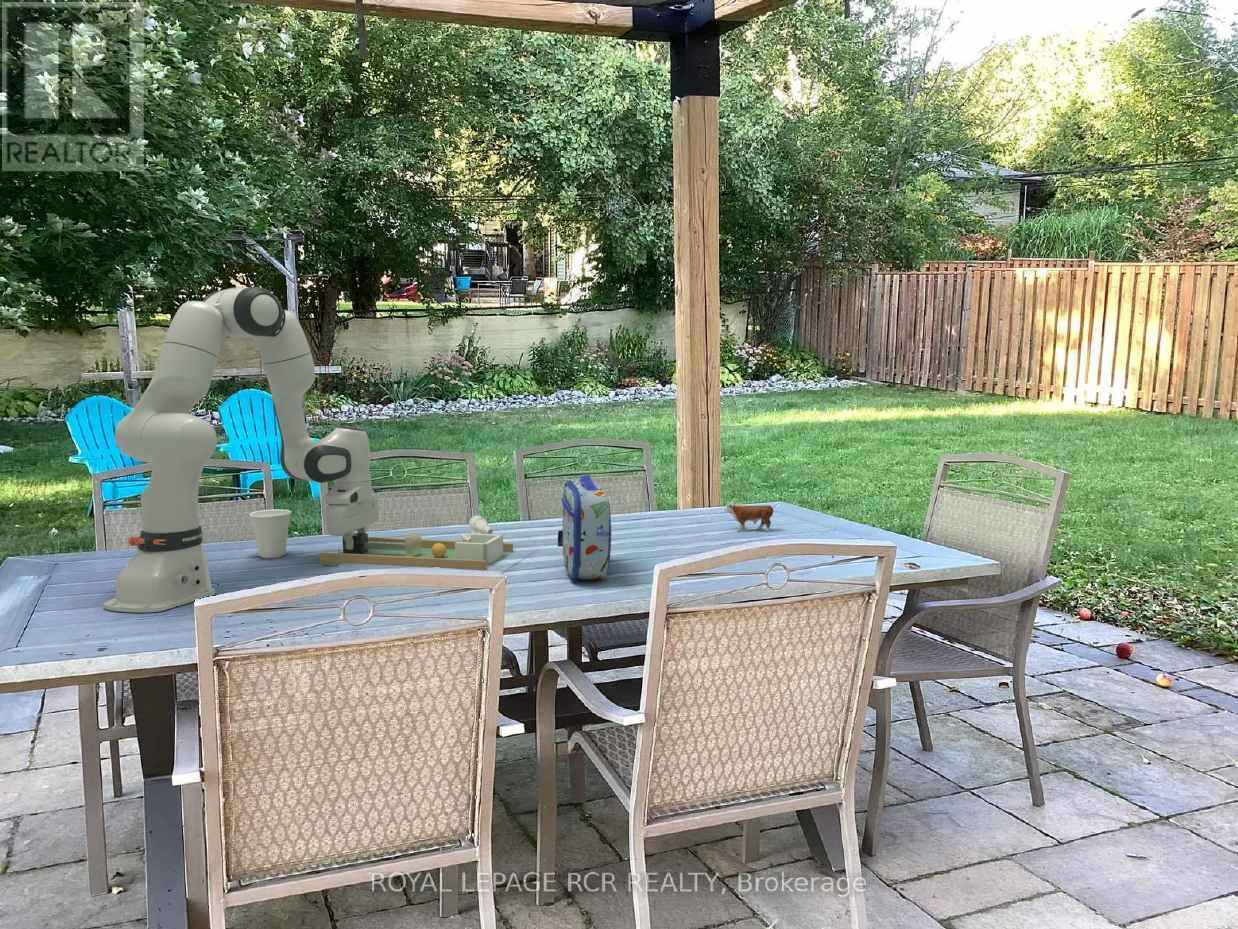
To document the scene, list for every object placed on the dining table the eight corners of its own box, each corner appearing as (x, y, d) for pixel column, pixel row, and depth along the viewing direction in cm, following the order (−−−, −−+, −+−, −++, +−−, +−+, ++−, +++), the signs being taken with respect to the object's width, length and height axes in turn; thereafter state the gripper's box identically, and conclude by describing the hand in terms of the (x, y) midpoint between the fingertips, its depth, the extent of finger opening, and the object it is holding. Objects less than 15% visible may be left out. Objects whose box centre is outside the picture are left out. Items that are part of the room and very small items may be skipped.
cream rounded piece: (483, 556, 258) (468, 543, 256) (469, 545, 271) (455, 533, 269) (503, 532, 260) (488, 519, 258) (489, 523, 272) (475, 511, 270)
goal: (487, 565, 236) (486, 544, 235) (455, 563, 237) (454, 542, 237) (503, 555, 246) (502, 535, 246) (472, 553, 248) (472, 533, 247)
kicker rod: (413, 557, 243) (412, 537, 243) (341, 554, 248) (340, 534, 247) (421, 553, 248) (421, 533, 247) (351, 549, 252) (350, 530, 252)
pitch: (484, 574, 231) (484, 561, 231) (319, 565, 241) (318, 553, 240) (513, 555, 251) (513, 543, 250) (359, 548, 260) (359, 536, 260)
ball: (443, 559, 242) (442, 545, 242) (429, 558, 243) (429, 544, 243) (448, 556, 246) (448, 542, 245) (435, 555, 246) (434, 541, 246)
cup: (280, 561, 246) (277, 517, 244) (243, 559, 248) (241, 515, 246) (300, 552, 255) (298, 509, 254) (265, 551, 257) (263, 508, 256)
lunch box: (556, 559, 246) (555, 470, 243) (598, 558, 247) (597, 469, 244) (569, 587, 219) (568, 487, 216) (616, 585, 220) (615, 486, 217)
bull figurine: (724, 528, 283) (724, 500, 282) (772, 529, 281) (773, 500, 280) (724, 531, 278) (724, 502, 277) (773, 532, 277) (773, 503, 275)
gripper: (361, 485, 258) (363, 538, 260) (320, 498, 238) (323, 555, 240) (384, 485, 257) (386, 539, 258) (344, 498, 237) (347, 556, 239)
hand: (355, 546), depth 249 cm, fingers closed on kicker rod, 3 cm apart
